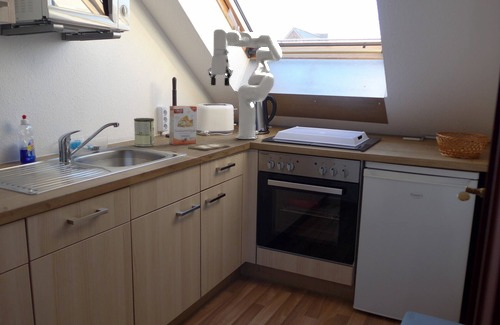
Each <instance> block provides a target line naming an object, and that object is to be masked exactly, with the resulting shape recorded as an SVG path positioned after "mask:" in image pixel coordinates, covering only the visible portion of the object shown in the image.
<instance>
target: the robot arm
mask: <svg viewBox="0 0 500 325" xmlns="http://www.w3.org/2000/svg"><path fill="white" fill-rule="evenodd" d="M228 47H237V48H238V47H239V48H240V47H241V48H254V49H257V50H256V52H255V59H256V67H255V69H254V70H253V72H252V73H251V74H250V76H249V78H248V80H247V83H248V84H244V85H240V87H239V88H238V90H237V97H238V103H239V106H238V110H239V111H238V135H236V136H235V139H241V140H255V139H257V138H258V136H257V135H258V134H259V130H255V129H256V126H255V125H256V107H255V104H254V103H255V102H256V103H258V102H259V103H261V102H264V100H266V98H267V97H268V96H269V94H270V92H271V90H272V89H273V87H274V85H275V83H274V82H275V79H274V78H275V77H274V76H273V74H271V73H270V68H269V66H268V63H269V62H271V63H272V62H279V61H280V60H282V58H283V52H282V49H281V47H280V45H279V43H278V41H277V40H276V38H275V37H274V36H273V34H271V33H270V32H261V33H260V32H252V31H251V32H250V31H237V30H226V29H222V28H220V29H218V28H217V29H214V31H213V55H212V59H211V64H210V65H211V66H210V68H209V69H207V73H208V76H209V78H210V85H211V86H216V85H217V84H216V81H217V78H216V77H217V76H218V75H223V76H224V86H225V87H229V86H230V79H231V77H232V75H233V72H234V69H233V68H232V67H231V64H230V63H231V62H230V57H229V56H228V54H229V50H228ZM267 62H268V63H267Z"/></svg>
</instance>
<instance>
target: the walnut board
mask: <svg viewBox="0 0 500 325" xmlns="http://www.w3.org/2000/svg"><path fill="white" fill-rule="evenodd" d="M226 148H230V145H227V144H220V143H206V144H197V145H191V146H187V149H191V150H197V151H202V152H203V151H204V152H205V151H206V152H208V151H213V150H219V149H220V150H221V149H226Z"/></svg>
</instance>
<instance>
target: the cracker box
mask: <svg viewBox="0 0 500 325" xmlns="http://www.w3.org/2000/svg"><path fill="white" fill-rule="evenodd" d="M197 108H198V107H197V106H196V105H170V106H169V127H168V128H169V132H168V133H169V138H168V139H169V144H170V145H172V146H176V145H194V144H195V145H196V144H197V120H198V118H197V117H198V116H197V115H198V114H197V113H198V109H197Z"/></svg>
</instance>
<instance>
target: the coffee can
mask: <svg viewBox="0 0 500 325" xmlns="http://www.w3.org/2000/svg"><path fill="white" fill-rule="evenodd" d="M133 122H134V124H133V125H134V146H136V147H153V146H155V119H154V118H152V117H151V118H149V117H136V118H133Z"/></svg>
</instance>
